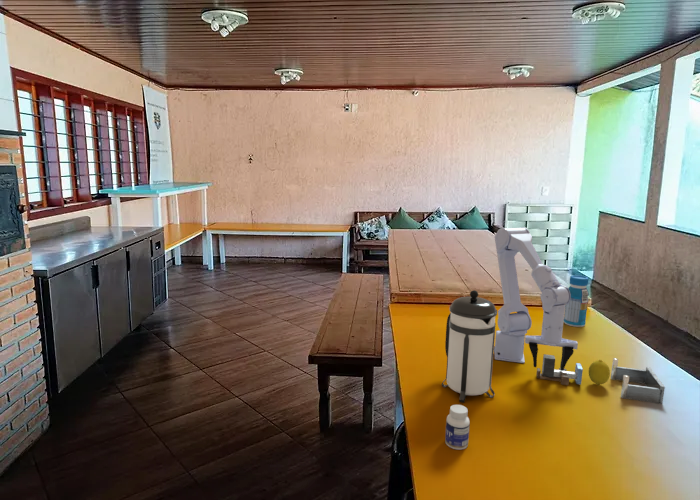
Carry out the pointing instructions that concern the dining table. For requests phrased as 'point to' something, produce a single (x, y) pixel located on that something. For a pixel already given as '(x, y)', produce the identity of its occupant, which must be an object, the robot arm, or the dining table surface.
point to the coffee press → (470, 345)
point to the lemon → (599, 372)
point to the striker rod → (551, 372)
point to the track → (562, 379)
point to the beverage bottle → (577, 302)
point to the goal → (648, 377)
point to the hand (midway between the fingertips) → (548, 367)
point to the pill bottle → (457, 427)
